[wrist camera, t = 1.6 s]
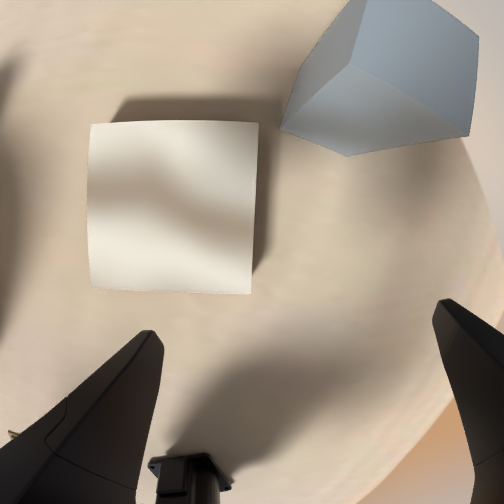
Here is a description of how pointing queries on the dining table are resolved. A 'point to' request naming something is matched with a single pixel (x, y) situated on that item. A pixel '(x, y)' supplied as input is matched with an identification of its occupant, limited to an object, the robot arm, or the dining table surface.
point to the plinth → (172, 205)
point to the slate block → (386, 79)
